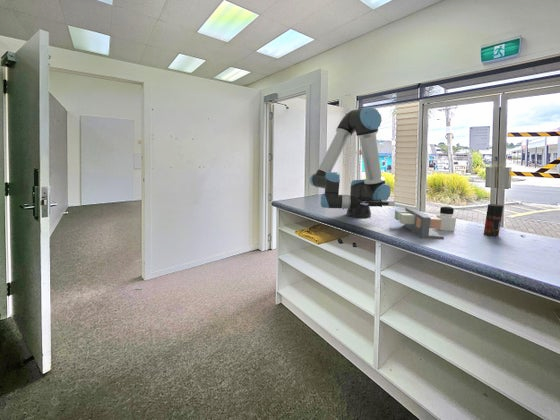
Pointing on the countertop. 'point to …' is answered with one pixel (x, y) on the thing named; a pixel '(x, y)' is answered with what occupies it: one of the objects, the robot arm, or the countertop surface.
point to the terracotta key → (434, 222)
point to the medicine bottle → (447, 219)
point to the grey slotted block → (422, 226)
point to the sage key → (397, 213)
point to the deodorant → (493, 220)
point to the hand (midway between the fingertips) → (394, 203)
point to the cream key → (407, 218)
